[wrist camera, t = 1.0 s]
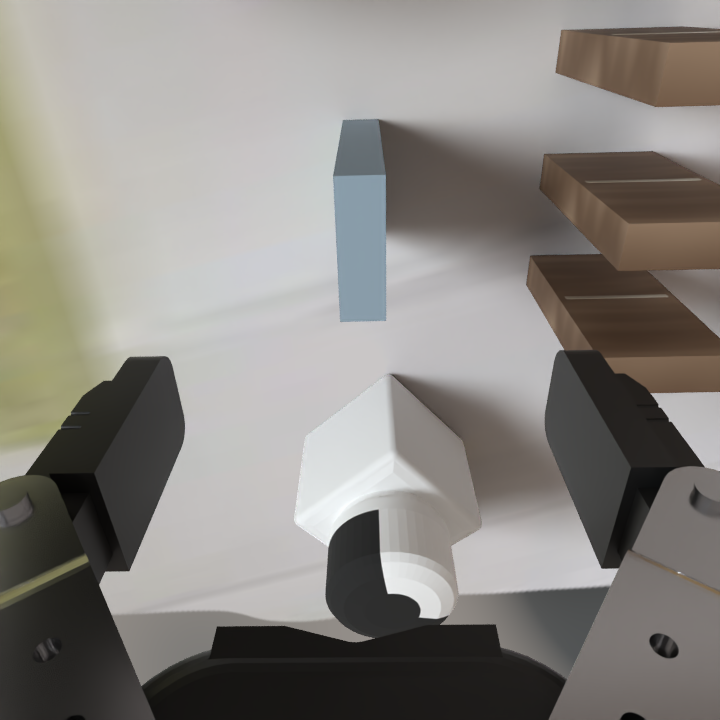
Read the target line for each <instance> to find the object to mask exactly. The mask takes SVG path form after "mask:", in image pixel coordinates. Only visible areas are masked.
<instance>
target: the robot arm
mask: <svg viewBox="0 0 720 720" xmlns="http://www.w3.org/2000/svg"><path fill="white" fill-rule="evenodd" d="M545 431H546V436H547V440H548V443H549V445H550V448H551V450H552V452H553V455H554V457H555V459H556V462H557V464H558V467H559V469H560V471H561V474H562V476H563V478H564V481H565V483H566V486H567V488H568V490H569V493H570V495H571V497H572V500H573V502H574V504H575V507H576V509H577V512H578V514H579V516H580V519H581V521H582V523H583V526H584V528H585V531H586V533H587V535H588V538H589V540H590V542H591V545H592V547H593V550H594V552H595V554H596V557H597V559H598V561H599V564H600V566H601V569H607V568H619V569H618V571H617V574H616V576H615V578H614V580H613V582H612V584H611V586H610V589H609V591H608V593H607V595H606V597H605V599H604V602H603V604H602V606H601V608H600V610H599V613H598V614H597V617H596V619H595V621H594V623H593V626H592V627H591V629H590V632H589V634H588V636H587V638H586V640H585V643H584V645H583V647H582V649H581V651H580V653H579V655H578V658H577V660H576V662H575V664H574V666H573V668H572V670H571V672H570V675H569V677H568V679H565V678H564V677H563V676H562V675H560V674H559V673H557V672H555V671H554V670H552V669H551V668H549V667H547V666H546V665H544V664H542V663H540V662H538V661H536V660H534V659H532V658H530V657H528V656H525V655H523V654H520V653H517V652H514V651H512V650H508V649H504V648H501V647H500V643H499V638H498V634H497V628H496V625H425V626H421V627H417V628H413V629H409V630H406V631H402V632H398V633H394V634H390V635H386V636H382V637H379V638H375V639H371V640H367V641H363V642H357V643H356V642H347V641H343V640H339V639H335V638H331V637H327V636H323V635H319V634H315V633H311V632H307V631H303V630H299V629H294V628H290V627H286V626H240V627H239V626H235V627H217V629H216V633H215V637H214V642H213V645H212V650H209V651H205V652H202V653H199V654H197V655H194V656H191V657H189V658H186V659H184V660H182V661H180V662H178V663H176V664H174V665H172V666H170V667H168V668H167V669H165V670H164V671H162V672H160V673H159V674H157V675H156V676H154V677H153V678H151V679H150V680H149V681H147V682H146V683H145V684H144V685H142V686H141V685H140V682H139V680H138V677H137V675H136V673H135V670H134V668H133V666H132V663H131V661H130V658H129V656H128V654H127V651H126V649H125V647H124V644H123V641H122V639H121V637H120V634H119V632H118V630H117V627H116V625H115V623H114V620H113V618H112V615H111V613H110V610H109V608H108V606H107V603H106V601H105V598H104V596H103V594H102V591H101V589H100V587H99V584H100V581H101V579H102V577H103V575H104V573H105V571H130V568H131V566H132V563H133V561H134V559H135V556H136V554H137V552H138V549H139V547H140V544H141V542H142V540H143V537H144V535H145V533H146V530H147V528H148V525H149V523H150V521H151V518H152V516H153V514H154V511H155V509H156V506H157V504H158V502H159V499H160V497H161V495H162V492H163V490H164V488H165V485H166V483H167V480H168V478H169V476H170V473H171V471H172V469H173V466H174V464H175V461H176V459H177V457H178V454H179V452H180V450H181V447H182V444H183V440H184V434H185V421H184V414H183V410H182V406H181V401H180V397H179V393H178V389H177V384H176V380H175V376H174V371H173V367H172V364H171V361H170V360H169V358H168V357H166V356H156V357H129V358H128V359H127V360H126V361H125V363H124V364H123V366H122V367H121V369H120V370H119V371H118V373H117V374H116V376H115V377H114V379H113V380H112V381H103V382H102V383H100V384H99V385H97V386H96V387H95V388H93V389H92V390H90V391H89V392H88V393H86V394H85V395H83V397H82V398H81V399H80V401H79V402H78V403H77V405H76V406H75V408H74V409H73V410H72V412H71V416H68V417H67V418H66V420H65V421H64V423H63V424H62V425H61V430H58V431H57V432H56V434H55V435H54V436H53V438H52V439H51V440H50V442H49V443H48V444H47V446H46V447H45V449H44V450H43V451H42V453H41V454H40V455H39V457H38V458H37V459H36V461H35V462H34V464H33V465H32V466H31V468H30V469H29V470H28V472H27V473H26V474H25V476H19V477H15V478H11V479H8V480H5V481H2V482H0V720H720V471H717V470H714V469H710V468H705V467H704V465H703V464H702V463H701V461H700V460H699V458H698V457H697V456H696V454H695V453H694V452H693V450H692V449H691V448H690V446H689V445H688V444H687V442H686V441H685V440H684V438H683V437H682V436H681V434H680V433H679V431H678V430H677V429H676V427H675V426H674V425H673V423H672V422H669V418H668V417H667V415H666V414H665V413H664V411H663V410H662V409H661V408H659V407H658V403H657V402H656V400H655V399H654V398H653V396H652V395H651V394H650V392H649V391H648V390H647V388H646V387H644V386H643V385H641V384H640V383H638V382H637V381H635V380H634V379H632V378H631V377H630V376H628V375H627V374H625V373H614V372H613V370H612V369H611V367H610V366H609V364H608V363H607V361H606V360H605V359H604V357H603V356H602V354H601V353H600V352H599V351H598V350H561V351H559V352H558V353H557V355H556V357H555V361H554V366H553V371H552V377H551V383H550V388H549V394H548V400H547V405H546V411H545Z"/></svg>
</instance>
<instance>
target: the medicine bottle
mask: <svg viewBox="0 0 720 720" xmlns="http://www.w3.org/2000/svg"><path fill="white" fill-rule="evenodd" d="M294 520H295V523H296V524H297V525H298V526H299V527H301V528H302V529H304V530H305V531H306V532H308V533H309V534H311V535H312V536H313V537H315V538H316V539H318V540H319V541H321V542H322V543H323V544H325V545H326V546H328V547H329V548H328V564H327V579H326V602H327V605H328V607H329V609H330V611H331V612H332V614H333V615H334V616H335V617H336V618H337V619H338V620H339V621H340V622H341V623H342V624H343V625H344V626H345V627H347V628H349V629H350V630H352V631H354V632H356V633H358V634H361V635H364V636H368V637H372V638H379V637H382V636H386V635H390V634H394V633H398V632H402V631H406V630H409V629H413V628H417V627H421V626H425V625H440V624H441V623H442V622H443V621H444V620H445V619H446V618H447V617H448V615H449V614H450V613H451V612H452V611H453V609H454V607H455V605H456V603H457V600H458V586H457V580H456V573H455V567H454V561H453V555H452V549H451V546H452V545H453V544H455V543H457V542H459V541H460V540H462V539H464V538H465V537H467V536H469V535H470V534H472V533H474V532H476V531H477V530H479V529H480V528H481V524H482V521H481V517H480V513H479V508H478V504H477V500H476V495H475V491H474V487H473V482H472V478H471V473H470V469H469V465H468V460H467V456H466V452H465V447H464V443H463V441H462V440H461V439H460V438H459V437H458V436H457V435H456V434H455V433H454V432H453V431H452V430H451V429H450V428H449V427H447V426H446V425H445V424H444V423H443V422H442V421H441V420H440V419H439V418H438V417H437V416H436V415H434V414H433V413H432V412H431V411H430V410H429V409H428V408H427V407H426V406H425V405H424V404H423V403H421V402H420V401H419V400H418V399H417V398H416V397H415V396H414V395H413V394H412V393H411V392H410V391H408V390H407V389H406V388H405V387H404V386H403V385H402V384H401V383H400V382H399V381H398V380H397V379H395V378H394V377H393V376H392V375H385V376H384V377H382V378H381V379H380V380H378V381H377V382H376V383H375V384H373V385H372V386H371V387H369V388H368V389H367V390H365V391H364V392H363V393H361V394H360V395H359V396H358V397H356V398H355V399H354V400H352V401H351V402H350V403H348V404H347V405H346V406H344V407H343V408H342V409H341V410H339V411H338V412H337V413H335V414H334V415H333V416H331V417H330V418H329V419H327V420H326V421H325V422H324V423H322V424H321V425H320V426H318V427H317V428H316V429H314V430H313V431H312V432H310V433H309V434H308V435H307V436H306V438H305V442H304V450H303V457H302V465H301V472H300V479H299V487H298V494H297V502H296V509H295V516H294Z"/></svg>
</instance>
